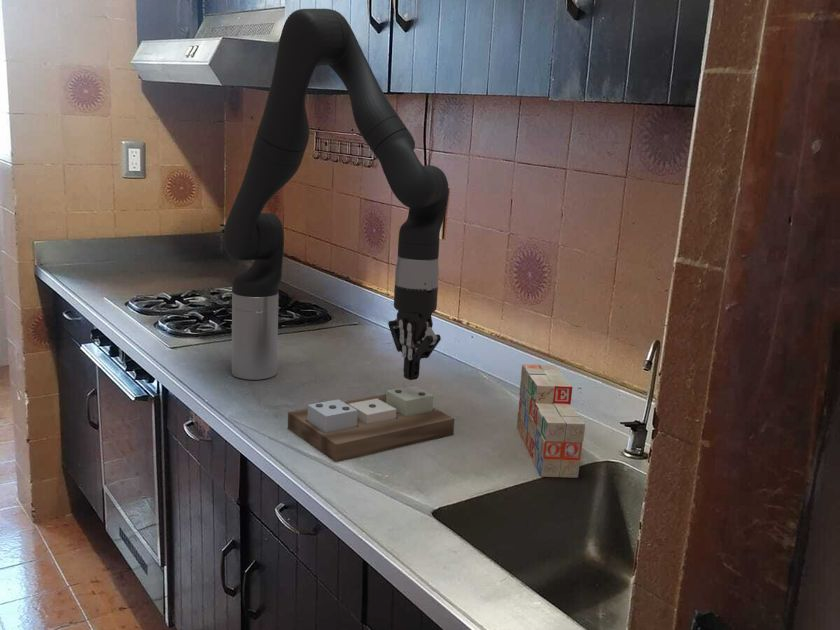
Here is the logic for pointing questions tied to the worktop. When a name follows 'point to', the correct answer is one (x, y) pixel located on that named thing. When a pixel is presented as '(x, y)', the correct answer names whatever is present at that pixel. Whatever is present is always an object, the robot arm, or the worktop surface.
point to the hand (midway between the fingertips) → (411, 378)
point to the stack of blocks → (549, 421)
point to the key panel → (372, 432)
